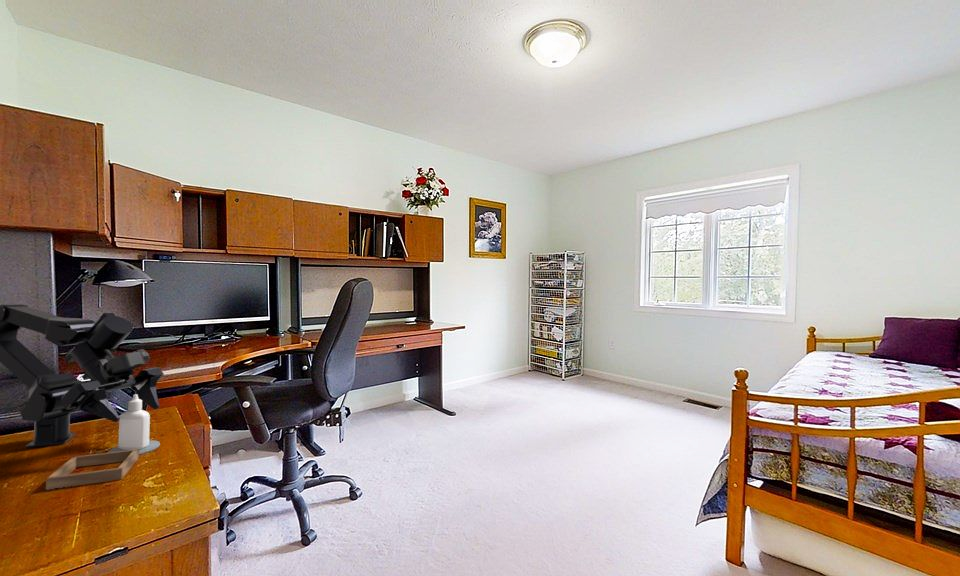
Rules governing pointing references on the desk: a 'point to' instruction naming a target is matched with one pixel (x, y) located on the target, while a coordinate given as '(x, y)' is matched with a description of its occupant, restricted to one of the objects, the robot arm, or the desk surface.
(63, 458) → the desk surface
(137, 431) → the eye dropper bottle
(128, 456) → the walnut collar
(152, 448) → the rubber coaster
